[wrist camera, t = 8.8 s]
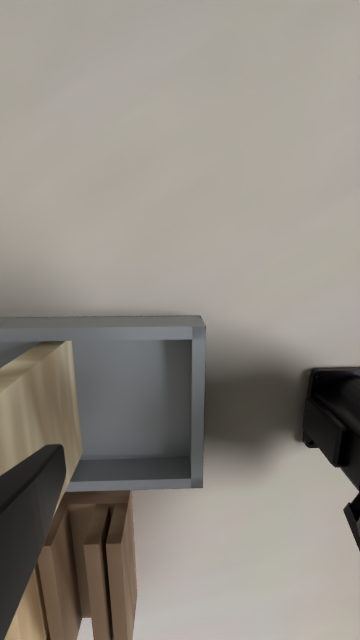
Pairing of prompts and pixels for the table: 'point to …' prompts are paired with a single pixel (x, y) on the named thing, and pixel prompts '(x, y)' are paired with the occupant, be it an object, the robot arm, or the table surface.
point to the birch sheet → (40, 406)
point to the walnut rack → (90, 566)
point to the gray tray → (129, 395)
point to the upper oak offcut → (27, 616)
